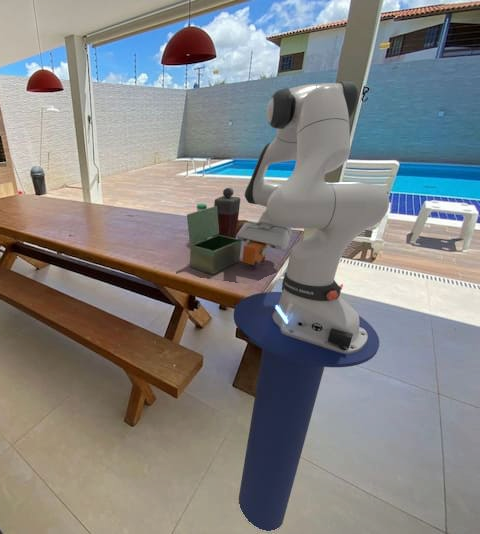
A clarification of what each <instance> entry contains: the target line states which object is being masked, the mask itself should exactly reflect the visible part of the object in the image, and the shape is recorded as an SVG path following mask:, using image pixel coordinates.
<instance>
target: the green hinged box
mask: <svg viewBox="0 0 480 534" xmlns="http://www.w3.org/2000/svg"><path fill="white" fill-rule="evenodd" d="M242 242H243V241H242V240H239V239H238V238H236V239H235V238H231V237H226V236H222V235H216V236H214V237H209V238H208V239H206V240H203V241H201V242H198V243H193V244H190V248H189V249H190V252H189V267H190V268H192V269H195V270H199V271H200V272H204V273H207V274H209V275H215V274H217V273H219V272H220V271H221V272H222V270H225V269H227V268H228V267H231V266H233V265H235V264H236V263H238V262H240V261H241V251H242V250H241V249H242Z"/></svg>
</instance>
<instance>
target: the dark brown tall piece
mask: <svg viewBox="0 0 480 534" xmlns="http://www.w3.org/2000/svg"><path fill="white" fill-rule="evenodd" d="M234 193H235V192H234V189H233V188H231V187H226V188H225V189H223V191H222V195H221V196H218V197H217V198H215V199H214V203H213V207H214V206H217V212H218V225H219V234H217V235H222V236H226V237H231V238H235V239H237V234H238V233H237V224H238V220H239V215H240V206H241V197H239V196H233V195H234ZM214 236H216V235H214ZM214 236H212V237H214Z"/></svg>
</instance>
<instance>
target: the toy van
mask: <svg viewBox="0 0 480 534" xmlns="http://www.w3.org/2000/svg"><path fill="white" fill-rule="evenodd" d="M265 248H266V244H265V243H260V242H256V241H254V242H252V243H250V244H247V245H246V244H245V245H244V246H243V252H242V261H241V262H242V264H244V265H247V266H251V267H255V268H256V267H257V265H258V264H259V263H264V262H265V260H266V256H267V255H266V254H267V252H266V253H265V255H264V256H262V255H260V254H259V253H260V251H261V250H264V249H265Z"/></svg>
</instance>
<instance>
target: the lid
mask: <svg viewBox="0 0 480 534" xmlns="http://www.w3.org/2000/svg"><path fill="white" fill-rule="evenodd" d="M186 221H187V229H188V239H189V245H193V244H195V243H196V242H199V241H201V240H204V239H206V238H211V237H212V236H214V235H217V234H219V225H218V212H217V206H214V205H213V206H211V207H207V208H206V209H204V210H201V211H197V210H196V211H194V212H190V213H188V214H186Z"/></svg>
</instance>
